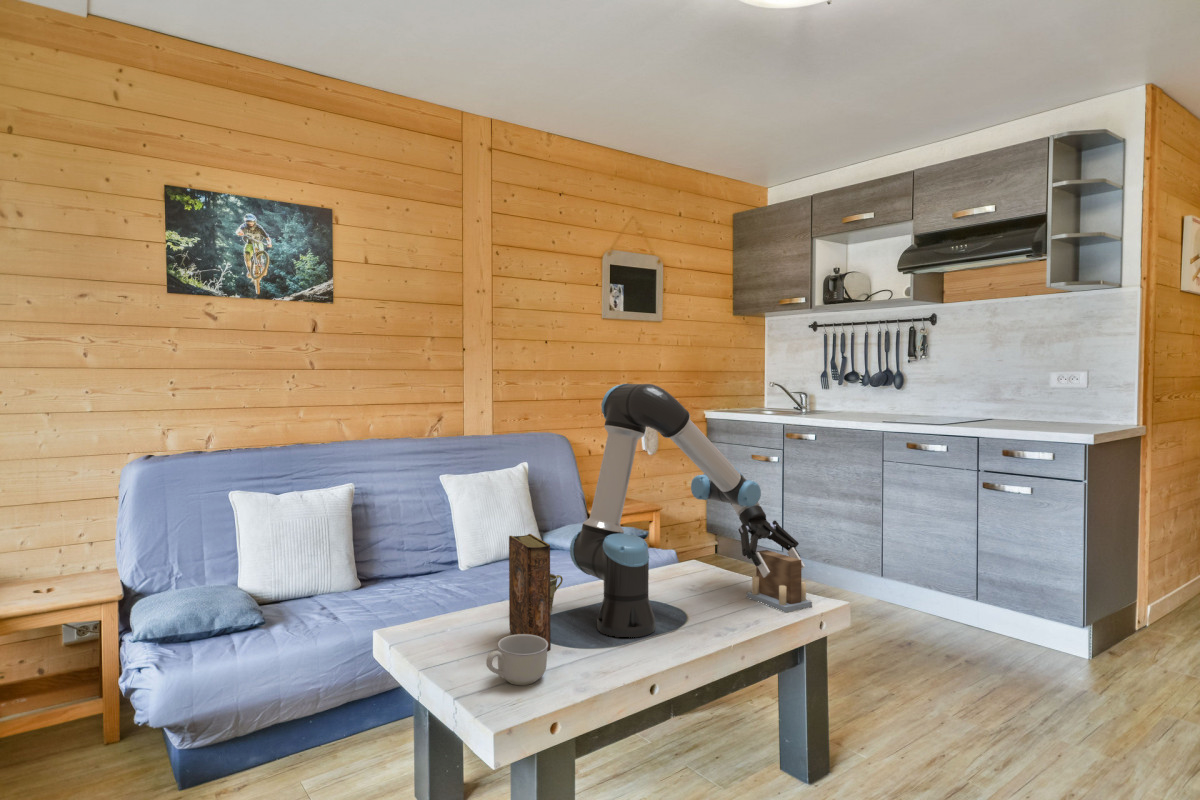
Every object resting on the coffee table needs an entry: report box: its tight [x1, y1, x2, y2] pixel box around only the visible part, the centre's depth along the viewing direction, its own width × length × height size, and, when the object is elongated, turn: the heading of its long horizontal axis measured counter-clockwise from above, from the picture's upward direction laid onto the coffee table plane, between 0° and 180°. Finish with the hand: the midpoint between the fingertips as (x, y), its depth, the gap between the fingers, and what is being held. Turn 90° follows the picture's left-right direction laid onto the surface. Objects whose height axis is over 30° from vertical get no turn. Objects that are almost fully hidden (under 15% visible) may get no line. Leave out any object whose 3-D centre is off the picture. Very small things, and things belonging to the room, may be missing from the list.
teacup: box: [486, 634, 548, 686], centre depth 147 cm, size 14×11×8 cm
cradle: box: [746, 575, 813, 613], centre depth 200 cm, size 16×10×6 cm, turn 29°
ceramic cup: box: [550, 572, 564, 615], centre depth 192 cm, size 13×10×10 cm
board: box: [755, 549, 802, 604], centre depth 200 cm, size 14×4×12 cm, turn 30°
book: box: [508, 533, 552, 653], centre depth 170 cm, size 16×6×25 cm, turn 25°
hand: (784, 571), depth 198 cm, fingers open, 13 cm apart
